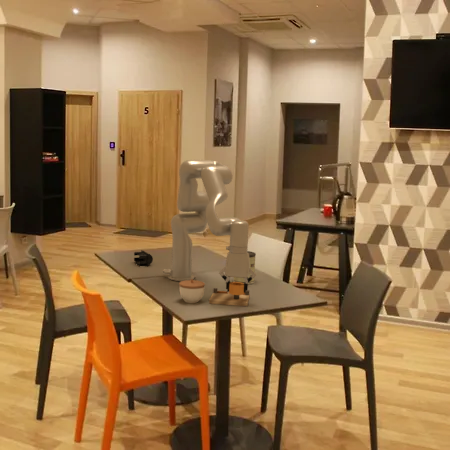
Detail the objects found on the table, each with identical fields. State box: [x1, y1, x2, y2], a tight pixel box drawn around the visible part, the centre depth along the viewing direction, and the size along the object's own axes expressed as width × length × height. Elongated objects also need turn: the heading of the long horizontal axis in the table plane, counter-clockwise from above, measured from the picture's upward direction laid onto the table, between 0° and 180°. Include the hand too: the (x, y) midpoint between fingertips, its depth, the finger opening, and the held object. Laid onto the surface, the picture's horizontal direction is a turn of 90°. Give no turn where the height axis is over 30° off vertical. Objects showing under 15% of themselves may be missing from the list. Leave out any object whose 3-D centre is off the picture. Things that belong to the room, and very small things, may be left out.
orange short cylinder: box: [228, 281, 244, 295], centre depth 269 cm, size 6×6×4 cm
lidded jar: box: [178, 279, 206, 304], centre depth 269 cm, size 11×11×9 cm
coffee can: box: [232, 250, 256, 285], centre depth 306 cm, size 10×10×14 cm
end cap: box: [133, 249, 154, 267], centre depth 335 cm, size 10×7×7 cm
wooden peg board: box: [208, 287, 251, 307], centre depth 272 cm, size 16×14×6 cm
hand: (236, 291), depth 270 cm, fingers closed on orange short cylinder, 6 cm apart
